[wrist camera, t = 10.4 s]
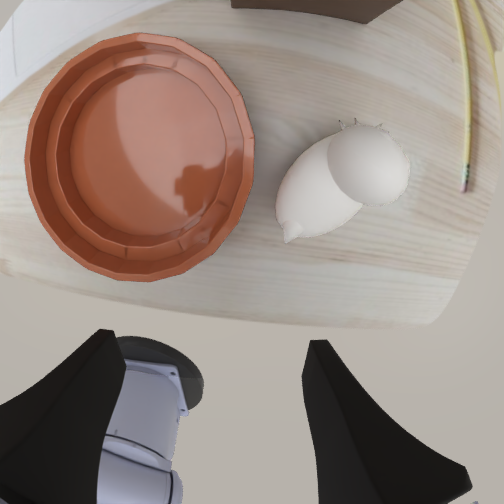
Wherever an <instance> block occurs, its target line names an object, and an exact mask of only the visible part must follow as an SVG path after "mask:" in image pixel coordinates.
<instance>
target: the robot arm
mask: <svg viewBox="0 0 504 504" xmlns="http://www.w3.org/2000/svg"><path fill="white" fill-rule="evenodd" d="M302 386H303V396H304V403H305V408H306V412H307V417H308V422H309V426H310V431H311V435H312V440H313V445H314V450H315V456H316V465H317V478H318V494H319V495H318V496H319V504H447V503H449V502H451V501H453V500H455V499H456V498H458V497H460V496H462V495H463V494H465V493H467V492H468V491H470V490H471V489H472V483H471V480H470V478H469V475H468V472H467V470H466V468H465V466H462V465H460V464H458V463H456V462H454V461H452V460H450V459H448V458H446V457H444V456H442V455H441V454H439V453H437V452H435V451H434V450H432V449H431V448H429V447H427V446H426V445H425V444H423V443H422V442H420V441H419V440H418V439H416V438H415V437H414V436H412V435H411V434H410V433H408V432H407V431H406V430H404V429H403V428H402V427H401V426H400V425H399V424H398V423H396V422H395V421H394V420H393V419H392V418H391V417H390V416H389V415H388V414H387V413H386V412H385V411H384V410H382V408H381V407H380V406H379V405H378V404H377V403H376V402H375V401H374V400H373V399H372V398H371V396H370V395H369V394H368V393H367V392H366V391H365V389H364V388H363V387H362V386H361V385H360V383H359V382H358V381H357V380H356V378H355V377H354V376H353V375H352V373H351V372H350V371H349V369H348V368H347V367H346V365H345V364H344V363H343V361H342V360H341V358H340V357H339V356H338V354H337V353H336V351H335V350H334V349H333V347H332V346H331V344H330V343H329V341H328V340H310V343H309V348H308V352H307V357H306V360H305V365H304V369H303V373H302ZM188 415H189V411H188V407H187V404H186V400H185V396H184V392H183V388H182V384H181V380H180V376H179V371H178V368H177V366H175V365H172V364H162V363H153V362H145V361H138V360H130V359H124V358H123V356H122V353H121V350H120V348H119V345H118V342H117V339H116V337H115V334H114V331H113V330H106V329H99V330H98V331H97V332H95V333H94V334H93V335H92V336H91V337H90V338H89V339H88V340H86V341H85V342H84V343H83V344H82V345H81V346H80V347H79V348H78V349H76V350H75V351H74V352H73V353H72V354H71V355H70V356H69V357H67V358H66V359H65V360H64V361H63V362H62V363H61V364H60V365H58V366H57V367H56V368H55V369H54V370H52V371H51V372H50V373H49V374H47V375H46V376H45V377H44V378H43V379H41V380H40V381H39V382H37V383H36V384H35V385H33V386H32V387H30V388H29V389H27V390H26V391H24V392H23V393H21V394H20V395H18V396H16V397H14V398H13V399H11V400H9V401H7V402H6V403H4V404H2V405H0V504H181V503H182V496H183V486H182V481H181V479H180V477H179V476H178V474H177V472H176V471H174V470H171V465H172V461H170V460H171V459H172V457H173V454H174V449H175V443H176V437H177V431H178V425H179V419H180V416H188ZM471 504H478V502H477V501H475V502H473V503H471Z"/></svg>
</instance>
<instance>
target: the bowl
mask: <svg viewBox="0 0 504 504" xmlns="http://www.w3.org/2000/svg"><path fill="white" fill-rule="evenodd" d="M254 150H255V138H254V133H253V129H252V126H251V123H250V119H249V116H248V113H247V110H246V106H245V103H244V100H243V97H242V95H241V93H240V91H239V90H238V89H237V87H236V86H235V85H234V83H233V82H232V81H231V79H230V78H229V77H228V75H227V74H226V73H225V72H224V70H223V69H222V68H221V67H220V65H219V64H218V63H217V62H216V60H214V59H213V58H212V57H210V56H209V55H207V54H205V53H204V52H202V51H200V50H199V49H197V48H195V47H193V46H192V45H190V44H188V43H186V42H185V41H183V40H181V39H178V38H175V37H169V36H162V35H155V34H148V33H133V34H128V35H124V36H119V37H115V38H111V39H107V40H103V41H101V42H98V43H97V44H95V45H93V46H91V47H90V48H88V49H87V50H85V51H83V52H82V53H80V54H79V55H77V56H76V57H74V58H73V59H71V60H70V61H68V62H67V63H66V64H65V65H64V67H63V68H62V69H61V70H60V71H59V72H58V74H57V75H56V76H55V77H54V78H53V79H52V81H51V82H50V83H49V84H48V86H47V87H46V88H45V89H44V91H43V93H42V95H41V97H40V99H39V102H38V104H37V106H36V108H35V111H34V113H33V116H32V118H31V120H30V124H29V128H28V134H27V141H26V148H25V157H24V158H25V159H24V161H25V171H26V179H27V186H28V192H29V195H30V198H31V201H32V203H33V206H34V208H35V210H36V213H37V215H38V218H39V220H40V222H41V223H42V225H43V227H44V228H45V229H46V231H47V232H48V233H49V235H50V236H51V237H52V239H53V240H54V241H55V243H56V244H57V245H58V246H59V248H60V249H61V250H62V251H64V252H65V253H66V254H67V255H69V256H70V257H71V258H73V259H74V260H75V261H77V262H78V263H79V264H81V265H82V266H84V267H85V268H87V269H88V270H91V271H94V272H96V273H99V274H102V275H104V276H107V277H110V278H112V279H115V280H120V281H137V282H152V281H156V280H160V279H164V278H168V277H172V276H175V275H179V274H182V273H184V272H186V271H188V270H189V269H191V268H192V267H194V266H195V265H197V264H198V263H200V262H201V261H203V260H205V259H206V258H208V257H209V256H211V255H212V254H213V253H215V251H216V250H217V249H218V248H219V246H220V245H221V244H222V242H223V241H224V240H225V239H226V237H227V236H228V235H229V234H230V232H231V231H232V230H233V229H234V227H235V226H236V225H237V224H238V222H239V220H240V217H241V214H242V212H243V209H244V206H245V203H246V201H247V198H248V195H249V193H250V190H251V187H252V185H253V178H254Z"/></svg>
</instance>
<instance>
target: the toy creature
mask: <svg viewBox="0 0 504 504" xmlns="http://www.w3.org/2000/svg"><path fill="white" fill-rule="evenodd" d="M339 122H340V126H341V131H340V132H338V133H337V134H333V135H330V136H328V137H326V138H324V139H322V140H320V141H318V142H316V143H315V144H313V145H312V146H311V147H310V148H308V149H307V150H306V151H305V152H304V153H302V154H301V155H300V156H299V157H298V158H297V160H296V161H295V162H294V163H293V165H292V166H291V167H290V168H289V170H288V171H287V172H286V174H285V176H284V178H283V180H282V182H281V184H280V186H279V188H278V193H277V198H276V202H275V211H276V218H277V221H278V223H279V224H280V226H281V227H282V229H283V230H284V239H285V244H286V243H288V242H289V241H291V240H293V239H294V238H296V237H309V238H311V237H315V236H319V235H323V234H326V233H328V232H330V231H332V230H334V229H336V228H338V227H340V226H342V225H343V224H344V223H346V222H347V221H348V220H349V219H351V218H352V217H353V216H354V215H355V214H357V212H358V211H359V210H360V209H361V208H362V207H363V205H364V204H365V205H370V206H383V205H386V204H389V203H392V202H394V201H395V200H396V199H398V198H399V197H400V196H401V195H402V194H403V192H404V191H405V189H406V187H407V184H408V181H409V172H410V169H411V165H410V161H409V159H408V157H407V156H406V155H405V153H404V151H403V149H402V148H401V146H400V145H399V143H398V142H397V141H396V140H395V139H394V138H393V137H392V136H391V135H390V134H389V132H387V131H385V130H383V129H380V127H381V125H382V124H383V123H382V124H380V125H378V126H376V127H374V126H368V125H361V124H360V125H359V123H358V122H357V120H356V118H355V125H354V126H349V127H345V126H344V124H343V123H342V122H341V121H340V120H339Z"/></svg>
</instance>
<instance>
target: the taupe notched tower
mask: <svg viewBox="0 0 504 504" xmlns="http://www.w3.org/2000/svg"><path fill="white" fill-rule="evenodd" d="M401 1H403V0H231V6H232V8H263V9H278V10H289V11H298V12H306V13H313V14H320V15H326V16H331V17H336V18H341V19H346V20H351V21H355V22H359V23H363V24H367V23H369V22H370V21H372V20H373V19H375V18H376V17H378V16H379V15H381V14H382V13H384V12H385V11H387V10H388V9H390V8H392V7H393V6H395V5H396V4H398V3H400V2H401Z"/></svg>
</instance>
